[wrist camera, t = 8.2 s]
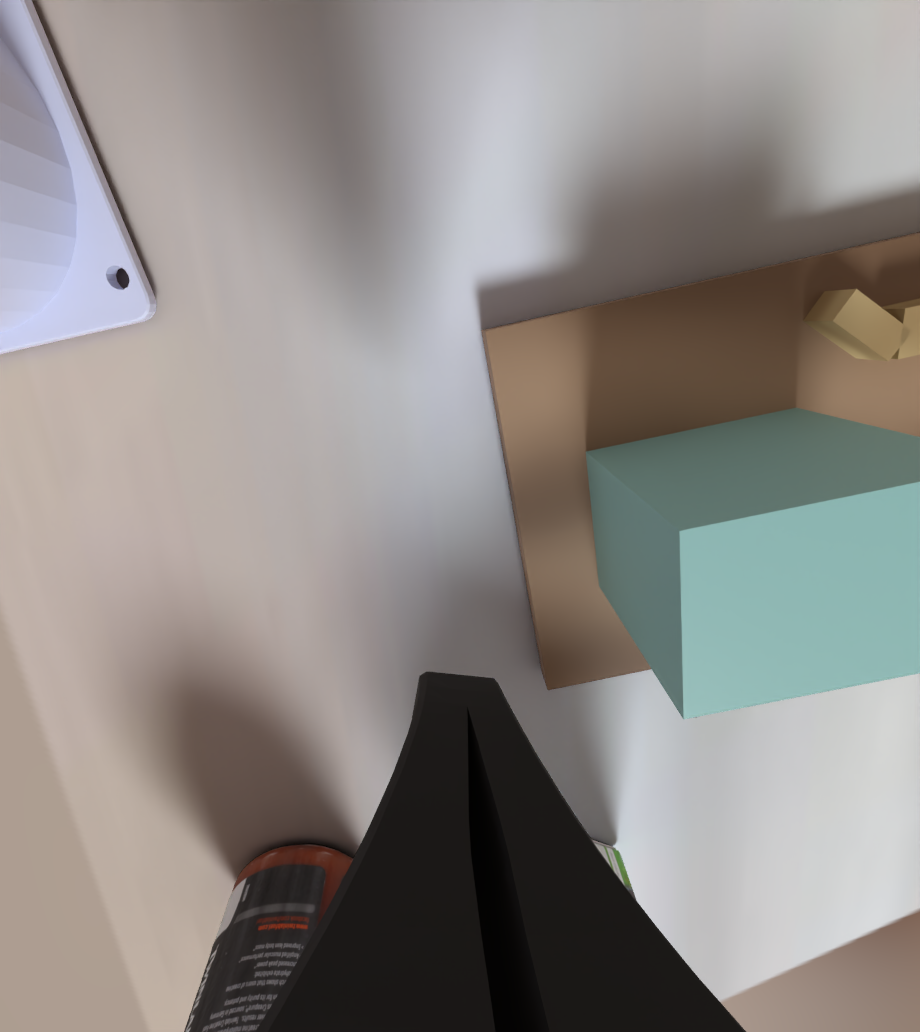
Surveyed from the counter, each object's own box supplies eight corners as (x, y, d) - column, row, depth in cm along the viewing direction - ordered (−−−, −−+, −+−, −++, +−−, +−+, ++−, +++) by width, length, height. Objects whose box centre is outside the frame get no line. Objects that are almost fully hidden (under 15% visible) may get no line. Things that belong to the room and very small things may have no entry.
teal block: (585, 451, 14) (679, 530, 8) (796, 407, 13) (1021, 461, 8) (599, 586, 15) (683, 719, 10) (786, 548, 15) (966, 664, 10)
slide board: (481, 330, 13) (497, 333, 10) (1147, 180, 13) (1393, 132, 9) (541, 670, 18) (566, 749, 14) (1031, 570, 17) (1171, 628, 14)
